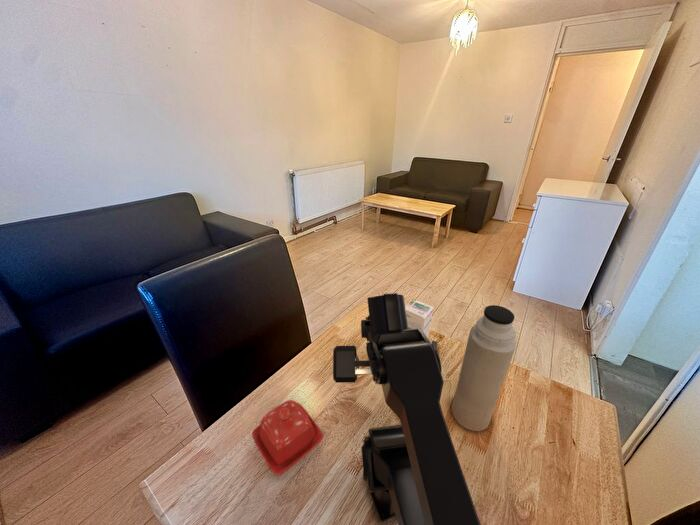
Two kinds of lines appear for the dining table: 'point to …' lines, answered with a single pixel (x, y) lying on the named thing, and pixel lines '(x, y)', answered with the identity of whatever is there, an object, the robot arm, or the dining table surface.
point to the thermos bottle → (484, 368)
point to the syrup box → (419, 316)
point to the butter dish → (286, 436)
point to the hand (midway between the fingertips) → (379, 362)
